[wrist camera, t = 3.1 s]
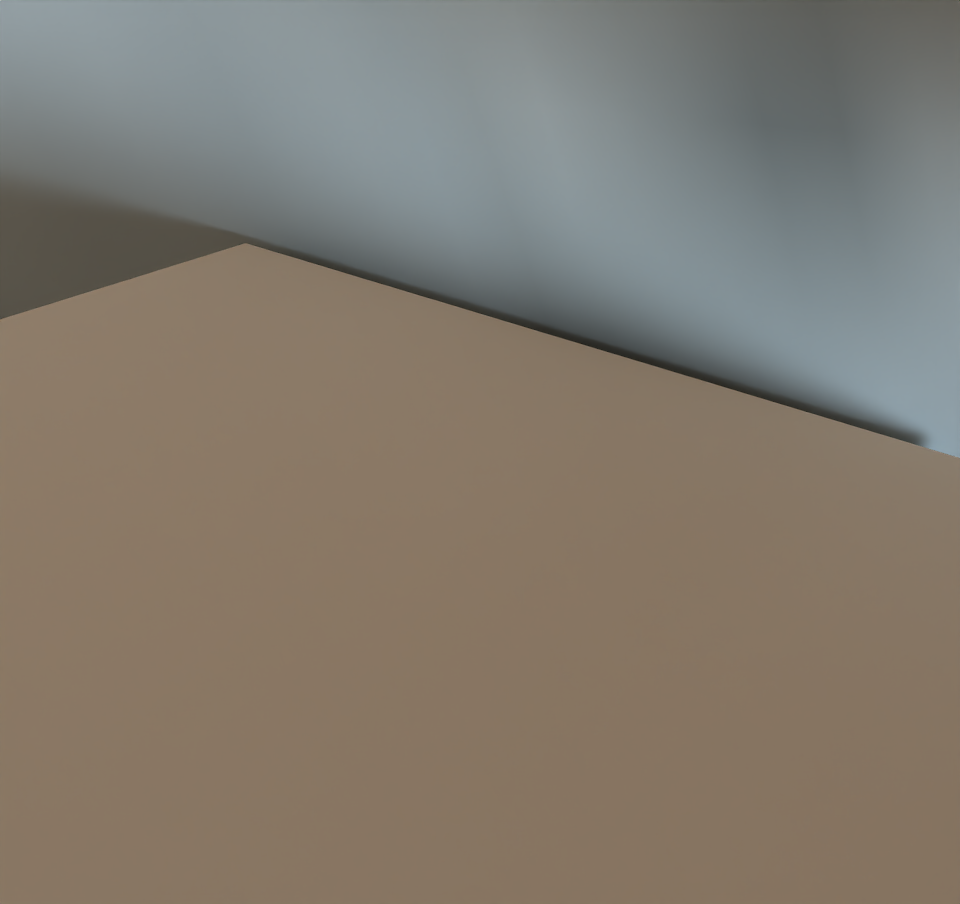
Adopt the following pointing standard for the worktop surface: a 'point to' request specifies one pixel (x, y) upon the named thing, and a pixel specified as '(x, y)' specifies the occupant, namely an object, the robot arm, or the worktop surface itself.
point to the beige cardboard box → (452, 615)
